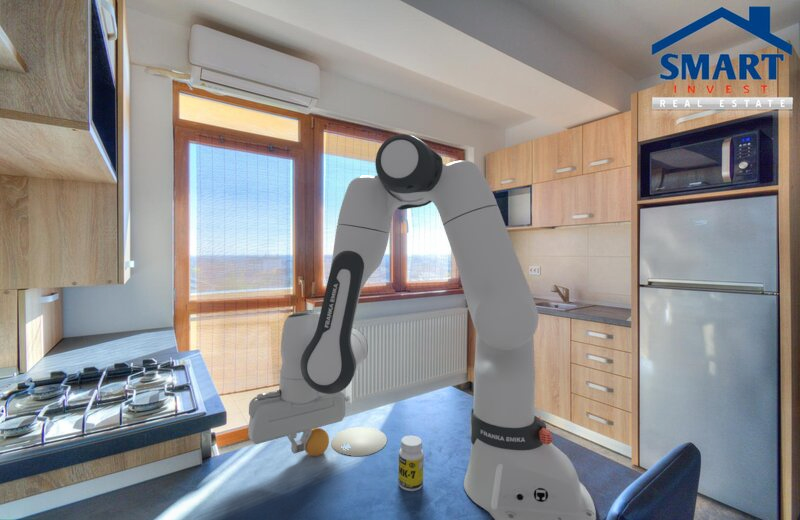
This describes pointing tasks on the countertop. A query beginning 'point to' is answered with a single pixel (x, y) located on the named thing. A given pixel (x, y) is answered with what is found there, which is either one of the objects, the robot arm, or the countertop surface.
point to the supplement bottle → (411, 463)
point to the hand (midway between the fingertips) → (298, 450)
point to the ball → (317, 442)
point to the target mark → (359, 441)
